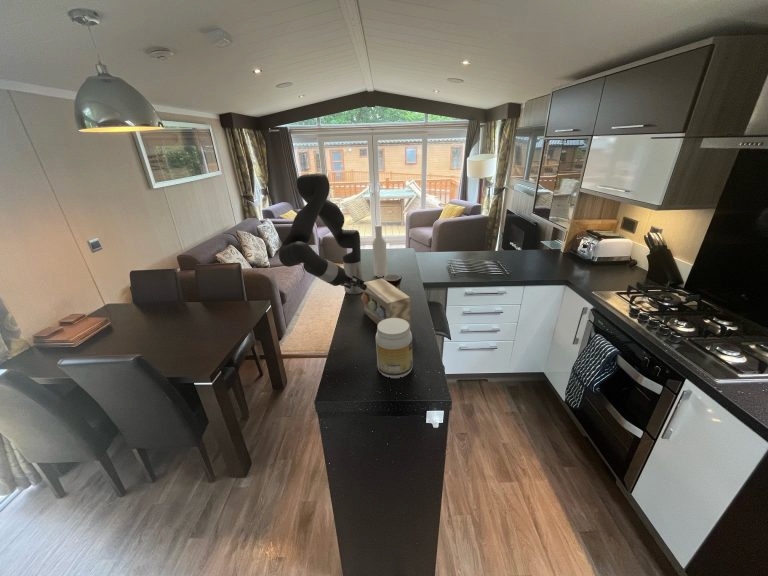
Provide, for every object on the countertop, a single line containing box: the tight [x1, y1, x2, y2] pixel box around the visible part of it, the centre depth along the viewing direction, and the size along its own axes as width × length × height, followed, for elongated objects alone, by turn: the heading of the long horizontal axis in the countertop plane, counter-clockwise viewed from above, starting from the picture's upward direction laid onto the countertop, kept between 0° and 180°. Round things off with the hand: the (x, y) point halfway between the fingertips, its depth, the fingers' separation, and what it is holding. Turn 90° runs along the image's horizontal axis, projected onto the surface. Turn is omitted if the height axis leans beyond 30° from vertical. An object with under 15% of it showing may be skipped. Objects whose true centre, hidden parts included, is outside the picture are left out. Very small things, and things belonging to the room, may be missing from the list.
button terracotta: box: [360, 294, 369, 305], centre depth 137 cm, size 2×4×4 cm, turn 28°
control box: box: [362, 277, 411, 329], centre depth 134 cm, size 10×24×15 cm, turn 27°
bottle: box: [372, 224, 388, 278], centre depth 181 cm, size 8×8×30 cm
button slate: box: [376, 307, 385, 319], centre depth 124 cm, size 2×4×4 cm, turn 27°
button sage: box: [368, 300, 377, 311], centre depth 131 cm, size 2×4×4 cm, turn 28°
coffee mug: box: [383, 273, 403, 291], centre depth 159 cm, size 12×9×10 cm
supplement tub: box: [375, 318, 414, 379], centre depth 103 cm, size 12×12×17 cm
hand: (358, 287), depth 126 cm, fingers open, 8 cm apart
